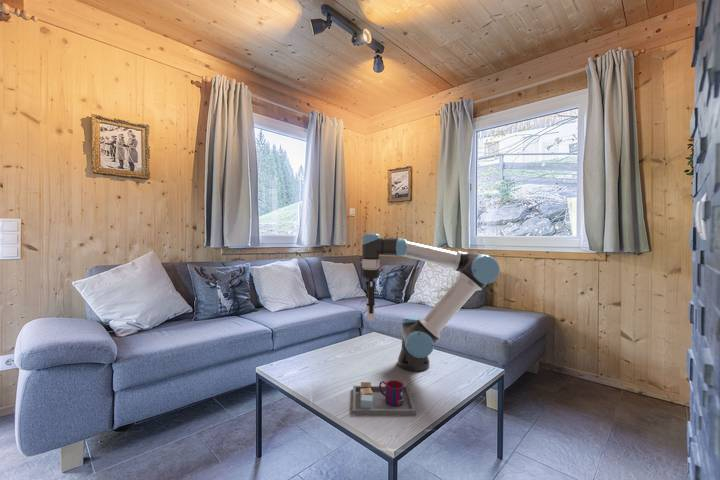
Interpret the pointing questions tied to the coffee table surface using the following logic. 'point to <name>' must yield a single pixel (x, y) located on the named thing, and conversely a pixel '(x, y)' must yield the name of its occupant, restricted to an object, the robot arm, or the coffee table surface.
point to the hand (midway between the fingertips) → (370, 316)
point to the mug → (393, 392)
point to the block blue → (366, 401)
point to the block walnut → (365, 385)
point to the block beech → (365, 392)
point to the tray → (382, 403)
